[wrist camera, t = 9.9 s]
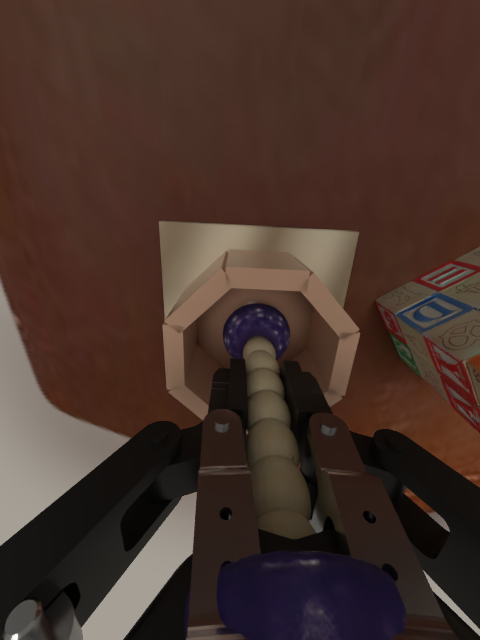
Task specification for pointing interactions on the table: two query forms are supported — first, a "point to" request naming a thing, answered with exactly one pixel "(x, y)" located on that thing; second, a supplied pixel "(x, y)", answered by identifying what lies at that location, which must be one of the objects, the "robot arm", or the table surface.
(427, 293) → the stack of blocks
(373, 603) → the toy lamp
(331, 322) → the beige octagonal hollow piece
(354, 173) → the table surface
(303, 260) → the birch board
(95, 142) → the table surface
